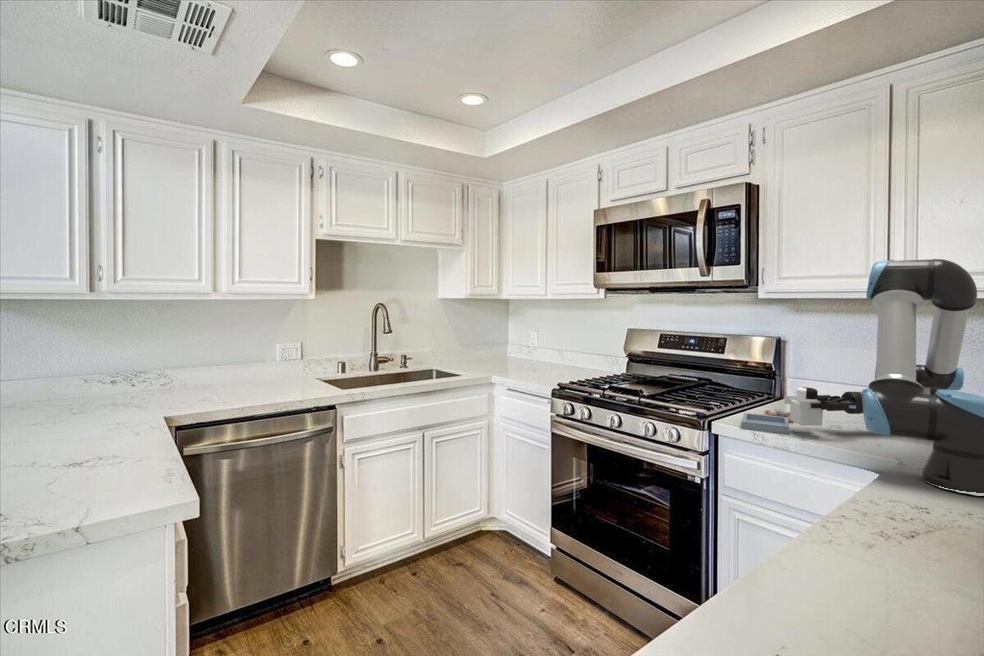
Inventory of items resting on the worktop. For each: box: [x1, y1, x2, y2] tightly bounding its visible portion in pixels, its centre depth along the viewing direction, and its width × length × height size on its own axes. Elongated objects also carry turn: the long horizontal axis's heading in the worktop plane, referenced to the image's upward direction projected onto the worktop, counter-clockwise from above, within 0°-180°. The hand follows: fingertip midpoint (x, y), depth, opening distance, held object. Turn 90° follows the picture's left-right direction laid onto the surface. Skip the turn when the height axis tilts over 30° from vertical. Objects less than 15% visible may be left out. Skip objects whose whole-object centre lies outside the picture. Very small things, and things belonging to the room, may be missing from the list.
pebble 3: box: [779, 410, 788, 417], centre depth 189 cm, size 3×3×3 cm
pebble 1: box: [768, 409, 777, 416], centre depth 190 cm, size 3×3×3 cm
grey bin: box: [741, 412, 790, 435], centre depth 181 cm, size 14×14×3 cm
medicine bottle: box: [789, 386, 824, 427], centre depth 171 cm, size 7×7×12 cm
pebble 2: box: [773, 408, 783, 416], centre depth 193 cm, size 3×3×3 cm
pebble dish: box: [762, 409, 795, 424], centre depth 191 cm, size 10×10×2 cm
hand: (792, 402), depth 171 cm, fingers closed on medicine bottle, 8 cm apart
